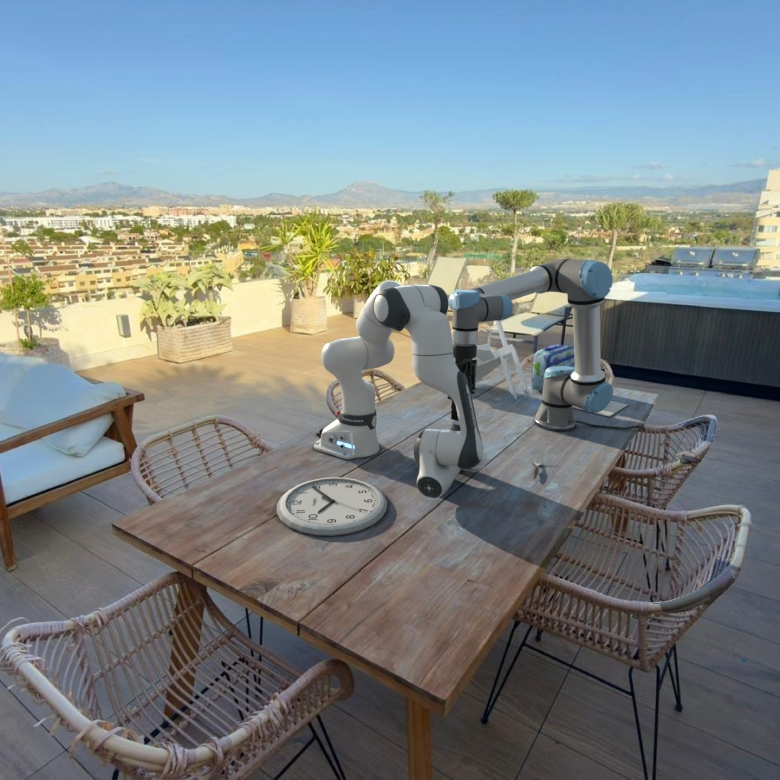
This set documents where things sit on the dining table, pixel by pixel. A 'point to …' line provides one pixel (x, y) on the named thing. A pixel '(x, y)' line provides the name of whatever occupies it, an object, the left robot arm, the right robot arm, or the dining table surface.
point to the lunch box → (550, 362)
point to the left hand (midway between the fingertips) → (458, 447)
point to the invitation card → (610, 408)
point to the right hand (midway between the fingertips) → (460, 416)
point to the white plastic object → (499, 361)
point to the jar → (455, 427)
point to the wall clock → (331, 506)
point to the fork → (537, 465)
